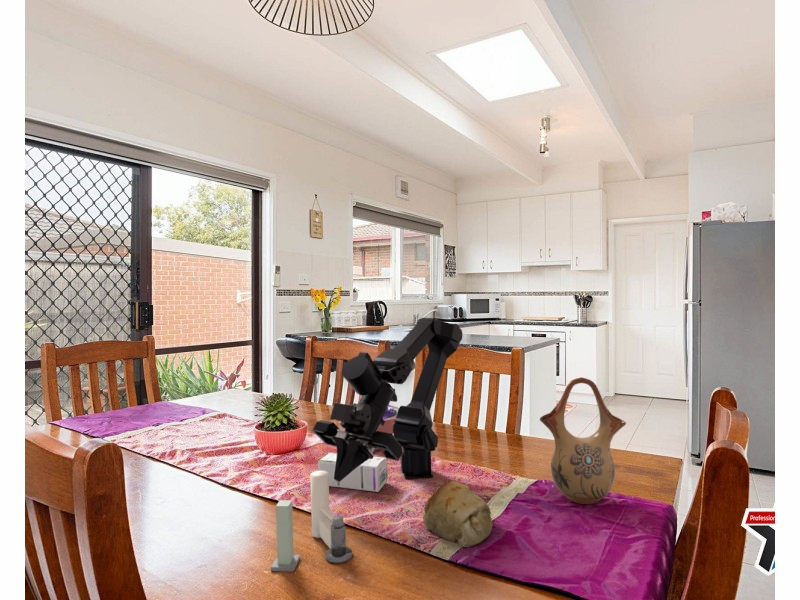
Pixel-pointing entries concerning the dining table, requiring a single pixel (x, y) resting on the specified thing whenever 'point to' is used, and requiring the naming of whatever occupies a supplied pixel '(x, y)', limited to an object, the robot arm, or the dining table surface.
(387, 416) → the cell model
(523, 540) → the dining table surface
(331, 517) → the gate
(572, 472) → the ceramic vessel
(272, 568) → the post
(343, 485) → the syrup box
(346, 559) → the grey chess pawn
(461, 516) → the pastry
